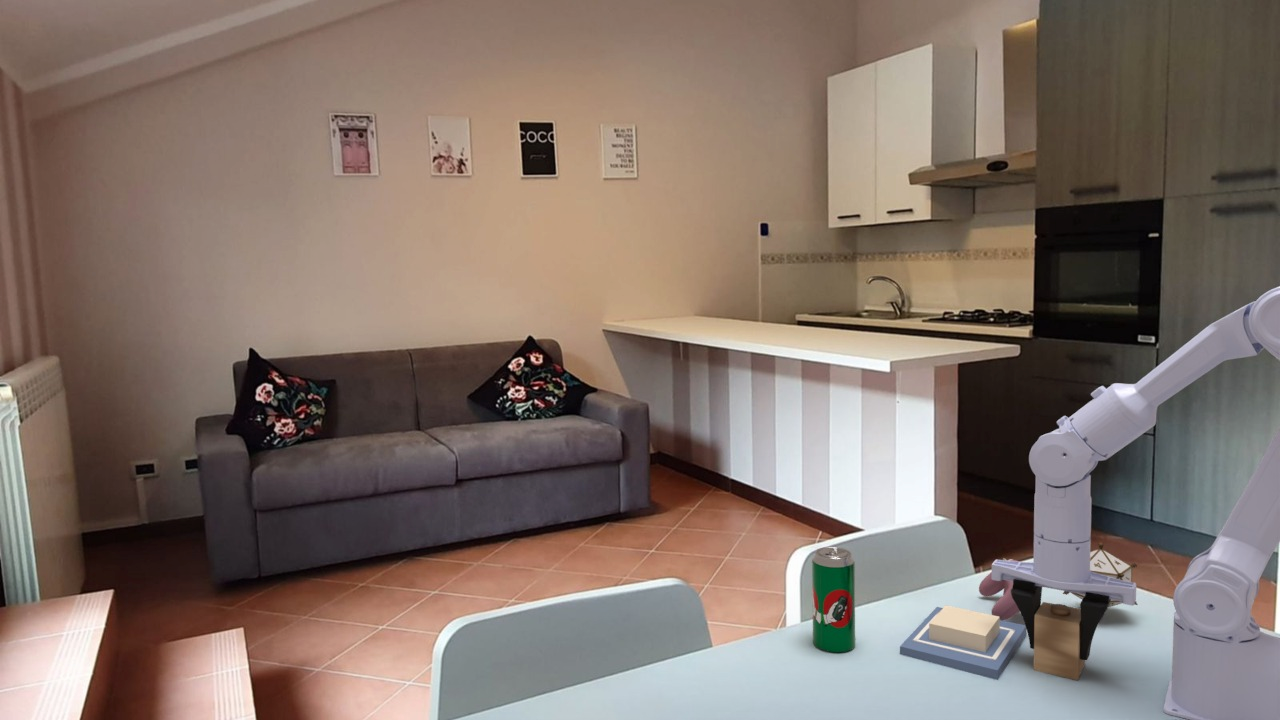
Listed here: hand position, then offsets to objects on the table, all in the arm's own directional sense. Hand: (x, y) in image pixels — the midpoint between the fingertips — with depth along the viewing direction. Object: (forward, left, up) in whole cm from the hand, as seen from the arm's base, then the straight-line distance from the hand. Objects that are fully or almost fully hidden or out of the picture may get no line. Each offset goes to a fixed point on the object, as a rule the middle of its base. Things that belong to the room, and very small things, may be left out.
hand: (1059, 651), depth 95 cm
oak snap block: (0, 0, -2) cm, 2 cm away
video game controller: (+10, -13, -2) cm, 16 cm away
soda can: (+24, +9, -2) cm, 25 cm away
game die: (-1, -18, -2) cm, 18 cm away
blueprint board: (+11, 0, -2) cm, 11 cm away
